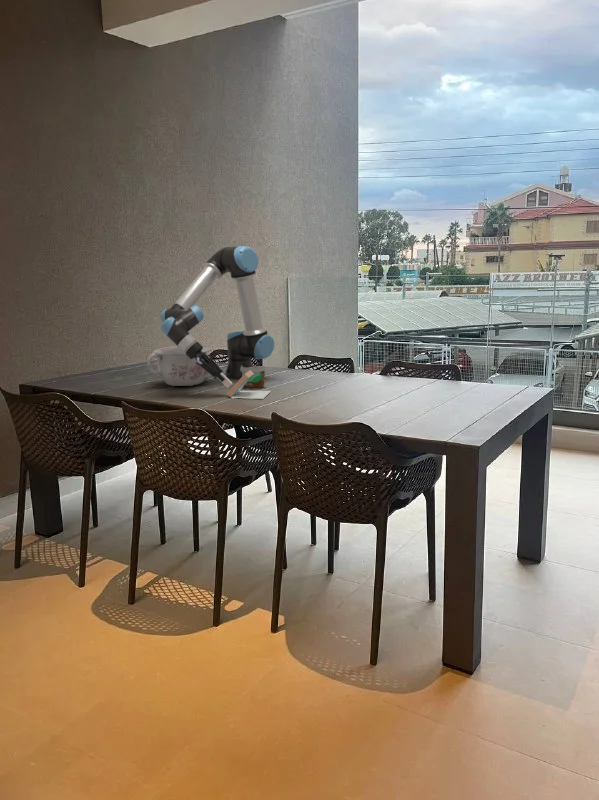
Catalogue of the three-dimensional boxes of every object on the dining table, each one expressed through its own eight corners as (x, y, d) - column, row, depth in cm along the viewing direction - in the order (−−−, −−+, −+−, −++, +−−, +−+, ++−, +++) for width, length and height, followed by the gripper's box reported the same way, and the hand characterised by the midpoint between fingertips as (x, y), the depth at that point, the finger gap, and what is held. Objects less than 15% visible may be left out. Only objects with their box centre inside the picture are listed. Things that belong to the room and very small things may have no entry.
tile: (232, 389, 283) (250, 370, 280) (237, 393, 283) (254, 373, 280) (226, 394, 273) (244, 373, 270) (230, 398, 274) (248, 377, 270)
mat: (240, 391, 286) (240, 390, 286) (271, 392, 284) (271, 390, 283) (230, 399, 270) (230, 398, 270) (263, 399, 268) (263, 398, 268)
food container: (236, 389, 293) (235, 367, 291) (242, 386, 299) (241, 365, 297) (261, 390, 289) (260, 368, 287) (266, 387, 295) (265, 365, 293)
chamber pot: (219, 379, 320) (217, 337, 315) (206, 389, 293) (203, 344, 289) (164, 379, 322) (161, 338, 318) (146, 390, 296) (143, 345, 291)
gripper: (190, 351, 284) (228, 388, 285) (180, 355, 272) (220, 394, 272) (201, 339, 282) (239, 376, 283) (191, 342, 270) (231, 382, 270)
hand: (230, 385), depth 277 cm, fingers closed
